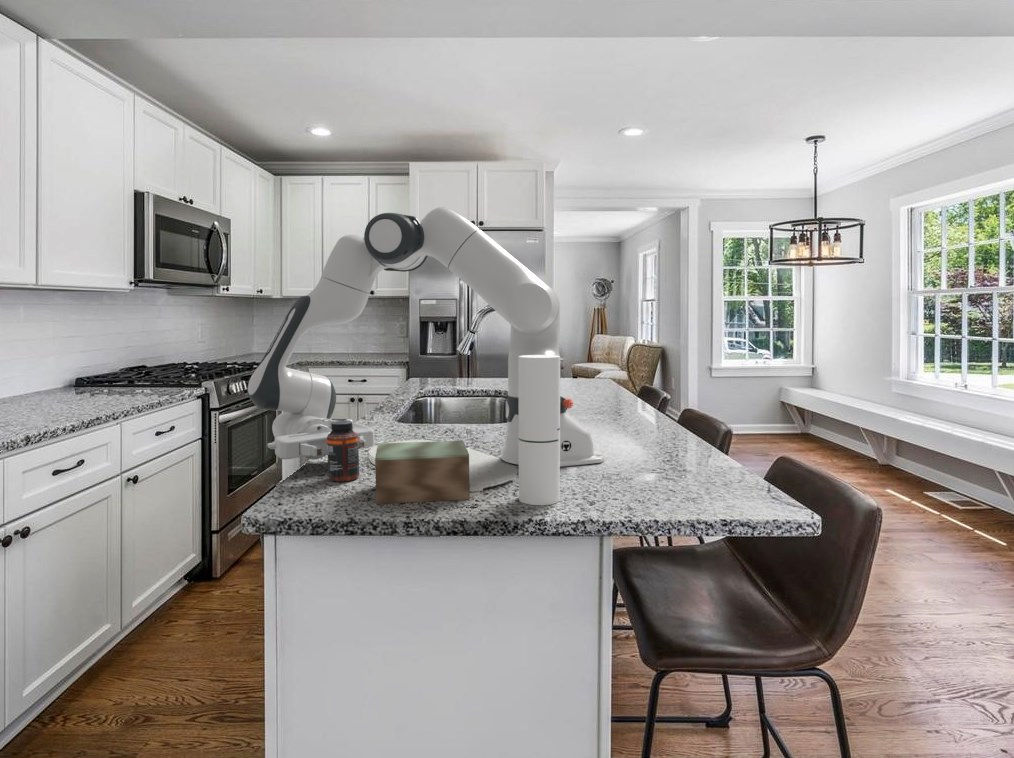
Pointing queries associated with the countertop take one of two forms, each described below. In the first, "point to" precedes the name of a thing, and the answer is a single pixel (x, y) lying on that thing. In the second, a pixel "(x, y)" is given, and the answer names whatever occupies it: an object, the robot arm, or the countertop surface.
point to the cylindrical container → (539, 429)
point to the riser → (422, 472)
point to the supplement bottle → (343, 452)
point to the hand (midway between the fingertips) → (341, 448)
